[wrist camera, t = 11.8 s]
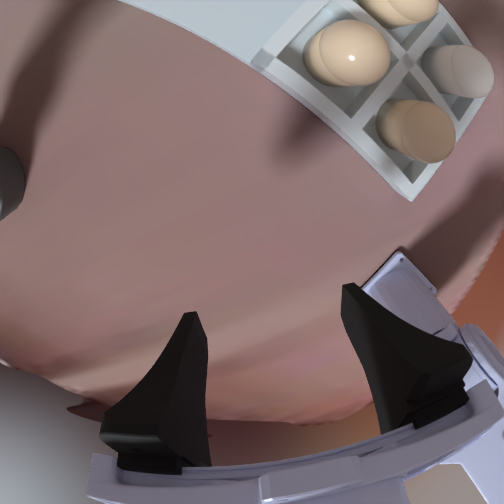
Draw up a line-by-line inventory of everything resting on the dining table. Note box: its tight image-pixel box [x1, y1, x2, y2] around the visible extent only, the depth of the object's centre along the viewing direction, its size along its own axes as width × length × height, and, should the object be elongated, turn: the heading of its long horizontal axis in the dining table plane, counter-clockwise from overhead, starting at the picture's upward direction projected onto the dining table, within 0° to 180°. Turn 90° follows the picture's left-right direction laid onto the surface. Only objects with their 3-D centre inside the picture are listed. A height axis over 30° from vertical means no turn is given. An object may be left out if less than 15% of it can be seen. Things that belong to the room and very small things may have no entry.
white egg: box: [421, 45, 495, 98], centre depth 12 cm, size 4×4×6 cm
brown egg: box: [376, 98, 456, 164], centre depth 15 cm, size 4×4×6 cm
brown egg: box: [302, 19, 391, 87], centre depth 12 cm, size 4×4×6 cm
